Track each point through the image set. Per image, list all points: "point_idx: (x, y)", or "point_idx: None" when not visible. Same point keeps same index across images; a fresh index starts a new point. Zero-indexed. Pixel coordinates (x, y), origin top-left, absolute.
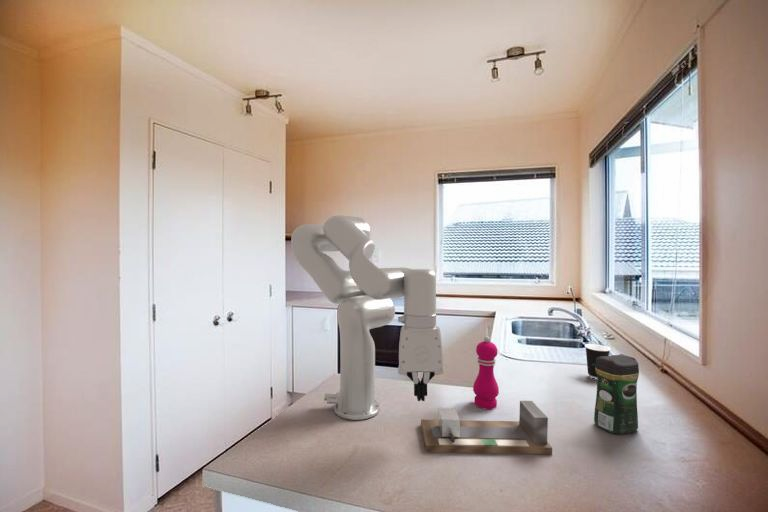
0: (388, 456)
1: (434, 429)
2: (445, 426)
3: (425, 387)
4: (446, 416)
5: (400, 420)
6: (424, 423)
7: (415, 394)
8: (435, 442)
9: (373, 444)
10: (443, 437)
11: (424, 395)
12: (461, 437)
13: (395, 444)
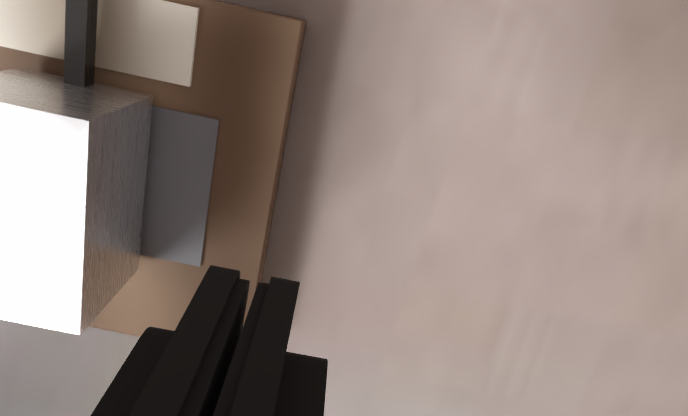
0: (581, 12)
1: (184, 215)
2: (91, 103)
3: (128, 409)
4: (38, 173)
5: (365, 407)
6: None
7: (315, 362)
8: (221, 47)
9: (629, 174)
10: None
11: (193, 299)
12: None
13: (484, 149)
